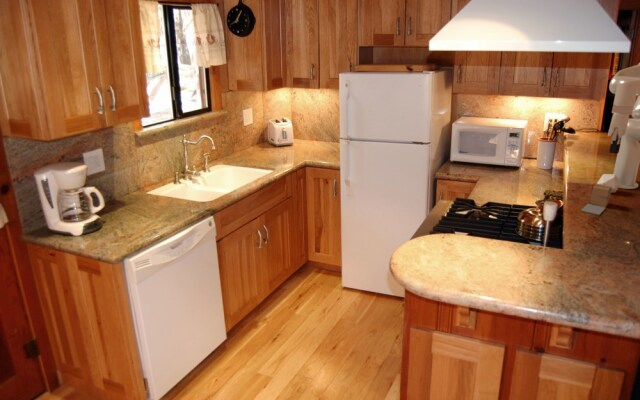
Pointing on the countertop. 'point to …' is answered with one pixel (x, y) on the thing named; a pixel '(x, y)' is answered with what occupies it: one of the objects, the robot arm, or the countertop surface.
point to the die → (610, 181)
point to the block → (600, 195)
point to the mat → (593, 209)
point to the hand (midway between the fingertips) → (613, 152)
